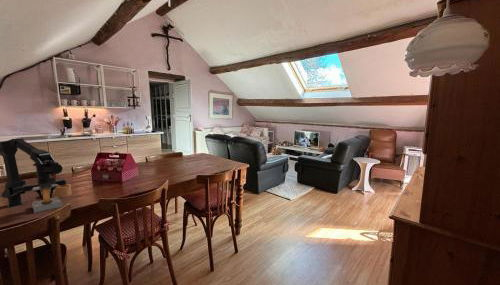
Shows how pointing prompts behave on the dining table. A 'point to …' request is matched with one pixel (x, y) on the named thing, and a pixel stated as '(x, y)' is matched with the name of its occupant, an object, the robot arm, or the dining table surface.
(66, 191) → the wooden mallet
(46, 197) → the wedge pin
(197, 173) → the dining table surface
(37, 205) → the grey slotted block
